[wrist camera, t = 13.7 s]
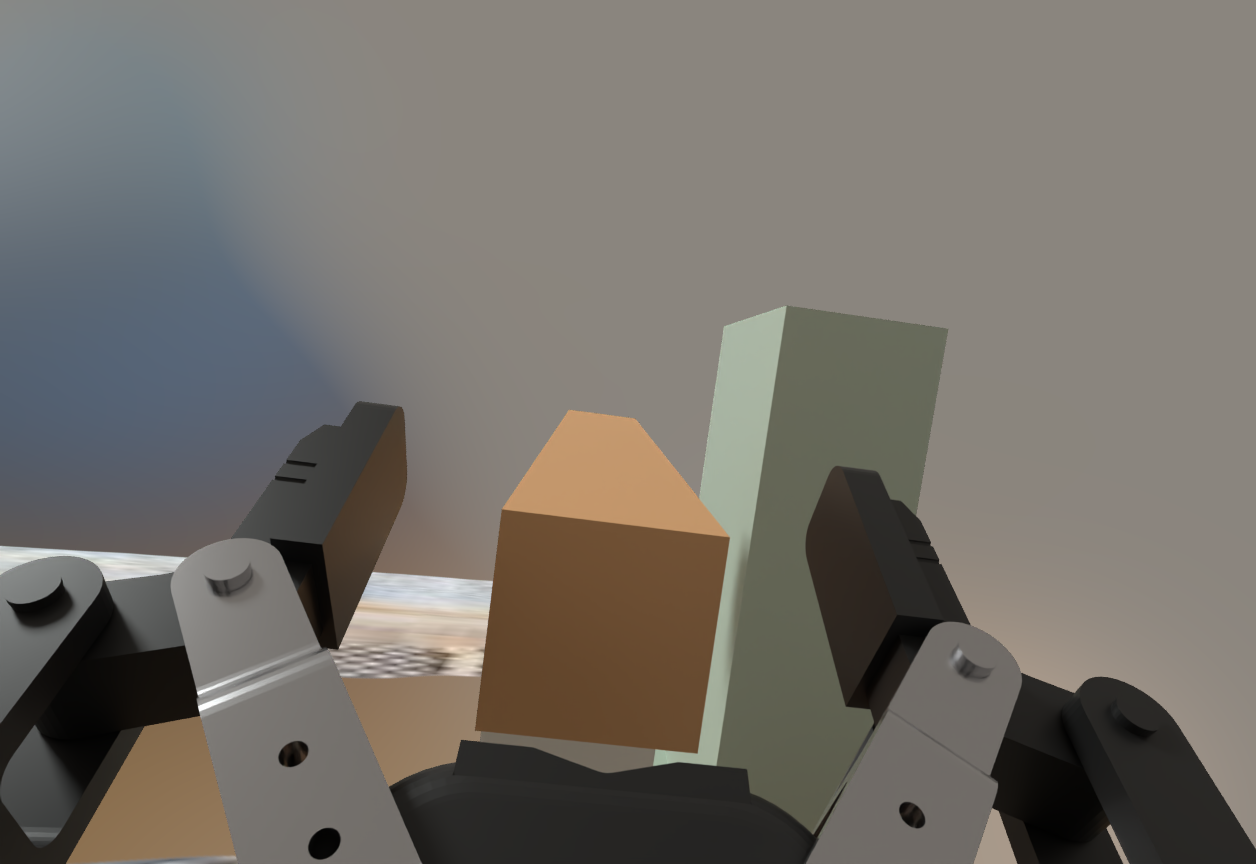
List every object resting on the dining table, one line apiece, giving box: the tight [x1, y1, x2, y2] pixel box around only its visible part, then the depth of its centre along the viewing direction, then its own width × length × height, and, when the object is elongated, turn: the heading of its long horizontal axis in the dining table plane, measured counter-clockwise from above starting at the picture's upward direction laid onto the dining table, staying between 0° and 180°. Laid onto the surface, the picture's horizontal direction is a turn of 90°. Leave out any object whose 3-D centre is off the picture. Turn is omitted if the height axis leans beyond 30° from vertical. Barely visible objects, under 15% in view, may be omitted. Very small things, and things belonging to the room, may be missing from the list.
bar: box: [475, 410, 730, 754], centre depth 24 cm, size 4×26×4 cm, turn 3°
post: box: [480, 731, 655, 773], centre depth 25 cm, size 5×10×22 cm, turn 3°
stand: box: [653, 306, 948, 833], centre depth 42 cm, size 11×18×32 cm, turn 3°
